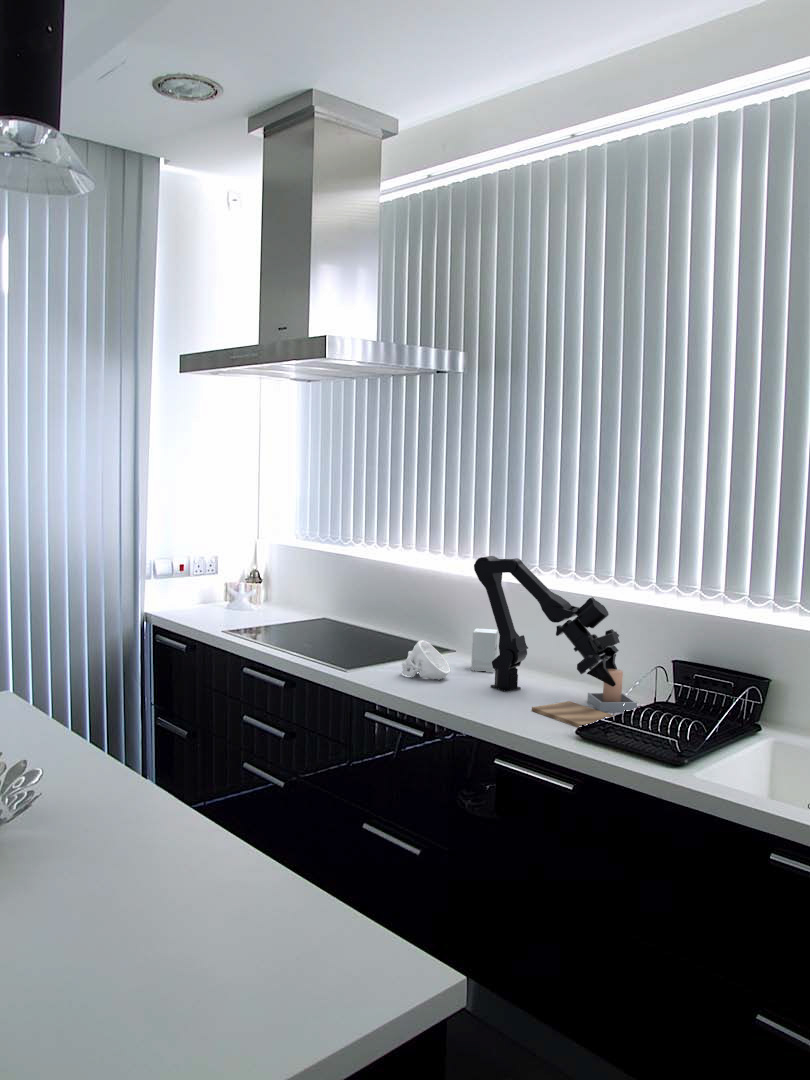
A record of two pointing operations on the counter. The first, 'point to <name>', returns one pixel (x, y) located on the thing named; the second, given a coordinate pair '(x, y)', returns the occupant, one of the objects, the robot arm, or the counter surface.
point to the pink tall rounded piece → (613, 692)
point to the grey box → (611, 703)
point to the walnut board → (571, 713)
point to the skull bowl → (425, 662)
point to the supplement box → (484, 649)
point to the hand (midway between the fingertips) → (617, 683)
